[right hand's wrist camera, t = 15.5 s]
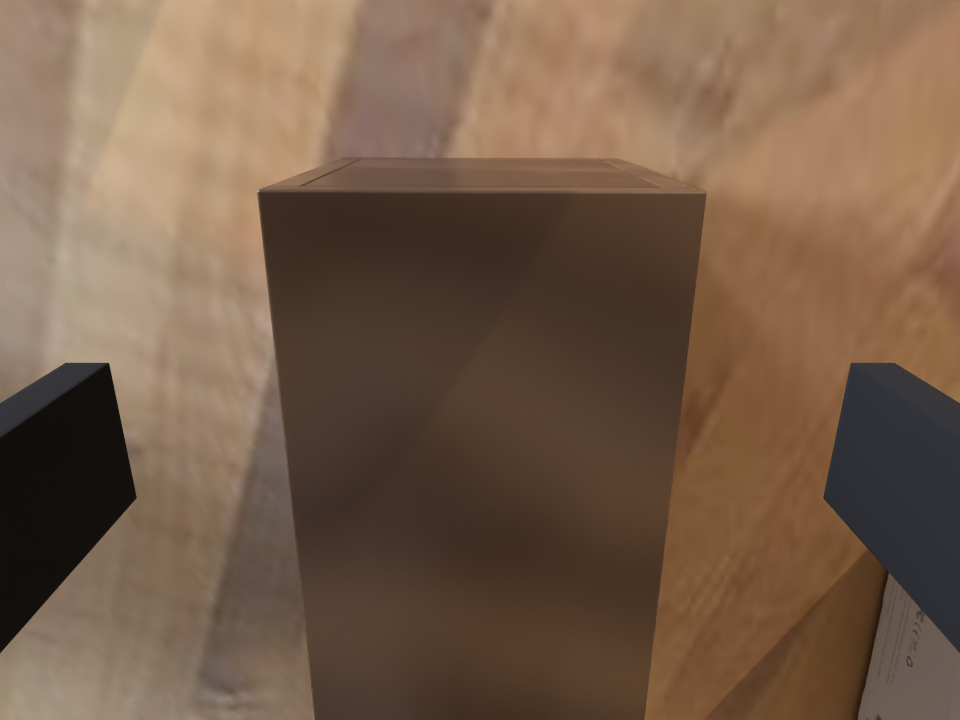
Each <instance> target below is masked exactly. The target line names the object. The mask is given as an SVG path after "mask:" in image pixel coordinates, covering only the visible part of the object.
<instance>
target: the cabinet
mask: <svg viewBox="0 0 960 720" xmlns="http://www.w3.org/2000/svg"><path fill="white" fill-rule="evenodd" d="M705 201H706V192H705V191H702V190H700V189H697V188H695V187H693V186H690V185H687V184H685V183H682V182H679V181H677V180H674V179H671V178H669V177H666V176H663V175H661V174H658V173H656V172H653V171H650V170H648V169H645V168H642V167H640V166H637V165H634V164H632V163H629V162H626V161H624V160H621V159H554V158H342V159H339V160H336V161H334V162H331V163H328V164H326V165H323V166H320V167H318V168H315V169H312V170H310V171H307V172H304V173H302V174H299V175H296V176H294V177H291V178H289V179H286V180H283V181H281V182H278V183H275V184H273V185H270V186H268V187H265V188H263V189H260V190H258V202H259V211H260V221H261V230H262V239H263V248H264V257H265V266H266V275H267V285H268V294H269V303H270V312H271V321H272V330H273V340H274V349H275V358H276V367H277V376H278V385H279V394H280V404H281V413H282V422H283V431H284V440H285V449H286V459H287V468H288V477H289V486H290V495H291V504H292V513H293V523H294V532H295V541H296V550H297V559H298V568H299V577H300V587H301V596H302V605H303V614H304V623H305V632H306V642H307V651H308V660H309V669H310V678H311V687H312V696H313V706H314V715H315V720H644V716H645V708H646V699H647V691H648V682H649V674H650V666H651V657H652V649H653V640H654V632H655V623H656V615H657V606H658V598H659V590H660V581H661V573H662V564H663V556H664V547H665V539H666V530H667V522H668V514H669V505H670V497H671V488H672V480H673V471H674V463H675V454H676V446H677V437H678V429H679V421H680V412H681V404H682V395H683V387H684V378H685V370H686V361H687V353H688V345H689V336H690V328H691V319H692V311H693V302H694V294H695V285H696V277H697V269H698V260H699V252H700V243H701V235H702V226H703V218H704V209H705Z"/></svg>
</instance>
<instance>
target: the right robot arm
mask: <svg viewBox="0 0 960 720" xmlns="http://www.w3.org/2000/svg"><path fill="white" fill-rule="evenodd" d="M136 498H137V497H136V492H135V488H134V483H133V478H132V473H131V468H130V463H129V458H128V453H127V449H126V444H125V439H124V434H123V429H122V424H121V419H120V414H119V409H118V405H117V400H116V395H115V390H114V385H113V380H112V375H111V370H110V366H109V363H65V364H63V365H62V366H60V367H58V368H57V369H55V370H54V371H52V372H50V373H49V374H47V375H45V376H44V377H42V378H41V379H39V380H37V381H36V382H34V383H32V384H31V385H29V386H28V387H26V388H24V389H23V390H21V391H19V392H18V393H16V394H15V395H13V396H11V397H10V398H8V399H7V400H5V401H3V402H2V403H0V653H1V652H2V651H3V649H4V648H5V647H6V646H7V645H8V644H9V643H10V641H11V640H12V639H13V638H14V637H15V636H16V635H17V633H18V632H19V631H20V630H21V629H22V628H23V627H24V625H25V624H26V623H27V622H28V621H29V620H30V619H31V618H32V616H33V615H34V614H35V613H36V612H37V611H38V610H39V608H40V607H41V606H42V605H43V604H44V603H45V602H46V600H47V599H48V598H49V597H50V596H51V595H52V594H53V592H54V591H55V590H56V589H57V588H58V587H59V586H60V585H61V583H62V582H63V581H64V580H65V579H66V578H67V577H68V575H69V574H70V573H71V572H72V571H73V570H74V569H75V567H76V566H77V565H78V564H79V563H80V562H81V561H82V559H83V558H84V557H85V556H86V555H87V554H88V553H89V552H90V550H91V549H92V548H93V547H94V546H95V545H96V544H97V542H98V541H99V540H100V539H101V538H102V537H103V536H104V534H105V533H106V532H107V531H108V530H109V529H110V528H111V527H112V525H113V524H114V523H115V522H116V521H117V520H118V519H119V517H120V516H121V515H122V514H123V513H124V512H125V511H126V509H127V508H128V507H129V506H130V505H131V504H132V503H133V501H134V500H135V499H136ZM823 498H824V499H825V500H826V501H827V503H828V504H829V505H830V506H831V507H832V508H833V509H834V511H835V512H836V513H837V514H838V515H839V516H840V517H841V519H842V520H843V521H844V522H845V523H846V524H847V525H848V527H849V528H850V529H851V530H852V531H853V532H854V533H855V534H856V536H857V537H858V538H859V539H860V540H861V541H862V542H863V544H864V545H865V546H866V547H867V548H868V549H869V550H870V552H871V553H872V554H873V555H874V556H875V557H876V558H877V559H878V561H879V562H880V563H881V564H882V565H883V566H884V567H885V569H886V570H887V571H888V572H889V573H890V574H891V575H892V577H893V578H894V579H895V580H896V581H897V582H898V583H899V585H900V586H901V587H902V588H903V589H904V590H905V591H906V592H907V594H908V595H909V596H910V597H911V598H912V599H913V600H914V602H915V603H916V604H917V605H918V606H919V607H920V608H921V610H922V611H923V612H924V613H925V614H926V615H927V616H928V618H929V619H930V620H931V621H932V622H933V623H934V624H935V625H936V627H937V628H938V629H939V630H940V631H941V632H942V633H943V635H944V636H945V637H946V638H947V639H948V640H949V641H950V643H951V644H952V645H953V646H954V647H955V648H956V649H957V651H958V652H959V653H960V403H958V402H957V401H955V400H953V399H952V398H950V397H949V396H947V395H945V394H944V393H942V392H941V391H939V390H937V389H936V388H934V387H932V386H931V385H929V384H928V383H926V382H924V381H923V380H921V379H919V378H918V377H916V376H915V375H913V374H911V373H910V372H908V371H906V370H905V369H903V368H902V367H900V366H898V365H897V364H895V363H851V366H850V370H849V375H848V380H847V385H846V390H845V395H844V400H843V405H842V409H841V414H840V419H839V424H838V429H837V434H836V439H835V444H834V449H833V453H832V458H831V463H830V468H829V473H828V478H827V483H826V488H825V492H824V497H823Z"/></svg>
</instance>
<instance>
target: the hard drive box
mask: <svg viewBox="0 0 960 720" xmlns="http://www.w3.org/2000/svg"><path fill="white" fill-rule="evenodd" d="M858 720H960V653H959V652H958V651H957V649H956V648H955V647H954V646H953V645H952V644H951V643H950V641H949V640H948V639H947V638H946V637H945V636H944V635H943V633H942V632H941V631H940V630H939V629H938V628H937V627H936V625H935V624H934V623H933V622H932V621H931V620H930V619H929V618H928V616H927V615H926V614H925V613H924V612H923V611H922V610H921V608H920V607H919V606H918V605H917V604H916V603H915V602H914V600H913V599H912V598H911V597H910V596H909V595H908V594H907V592H906V591H905V590H904V589H903V588H902V587H901V586H900V585H899V583H898V582H897V581H896V580H895V579H894V578H893V577H892V575H891V574H890V573H888V580H887V583H886V587H885V591H884V596H883V605H882V610H881V615H880V619H879V624H878V629H877V633H876V638H875V642H874V647H873V652H872V657H871V662H870V666H869V671H868V675H867V679H866V685H865V689H864V691H863V693H862V699H861V705H860V709H859V713H858Z"/></svg>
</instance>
